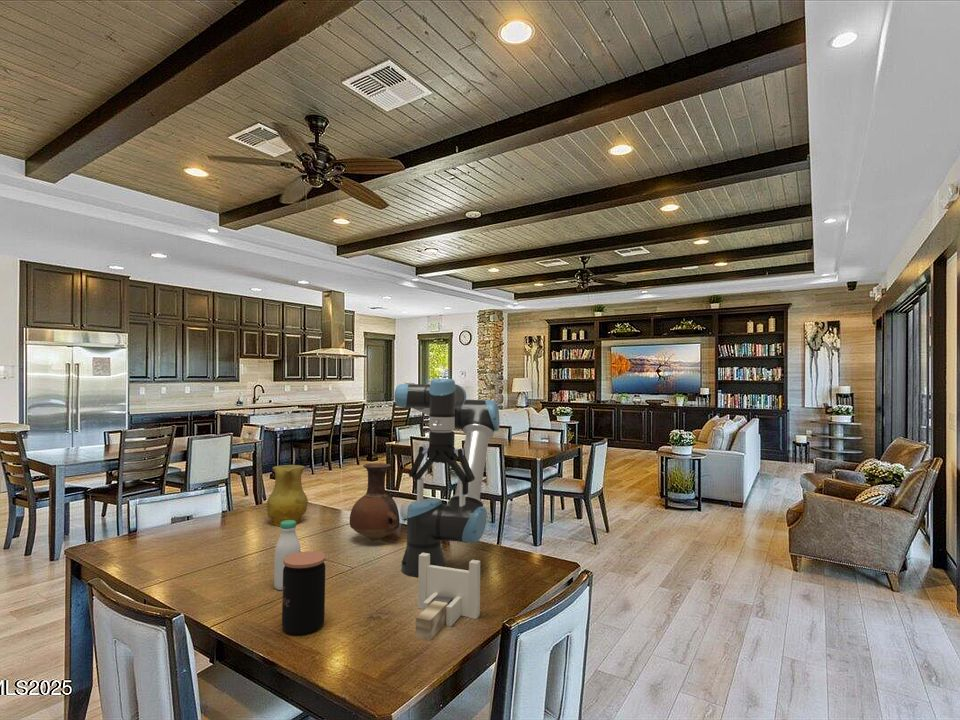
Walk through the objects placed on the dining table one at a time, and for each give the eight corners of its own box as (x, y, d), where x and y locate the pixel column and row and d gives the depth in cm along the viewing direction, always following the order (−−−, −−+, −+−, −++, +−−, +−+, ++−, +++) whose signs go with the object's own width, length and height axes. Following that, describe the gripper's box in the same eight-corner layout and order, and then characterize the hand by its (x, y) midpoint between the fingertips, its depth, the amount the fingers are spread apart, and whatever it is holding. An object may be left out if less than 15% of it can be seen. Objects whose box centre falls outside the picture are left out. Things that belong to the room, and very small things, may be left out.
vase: (414, 539, 215) (415, 464, 216) (378, 553, 199) (379, 471, 199) (370, 528, 229) (372, 458, 230) (334, 540, 213) (335, 464, 213)
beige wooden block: (430, 640, 134) (430, 619, 135) (415, 637, 136) (415, 616, 136) (452, 616, 148) (452, 597, 148) (438, 614, 149) (438, 595, 149)
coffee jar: (288, 617, 146) (289, 551, 146) (328, 616, 147) (329, 550, 147) (276, 637, 135) (278, 565, 136) (319, 635, 136) (321, 564, 137)
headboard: (407, 618, 146) (407, 562, 147) (421, 605, 155) (422, 552, 155) (467, 629, 140) (468, 571, 141) (479, 615, 149) (480, 560, 149)
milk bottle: (275, 592, 162) (276, 526, 163) (272, 583, 169) (273, 519, 169) (301, 588, 166) (303, 523, 166) (297, 579, 172) (299, 517, 173)
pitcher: (256, 526, 230) (261, 467, 232) (279, 516, 248) (284, 462, 250) (293, 529, 227) (298, 470, 229) (314, 520, 245) (318, 465, 247)
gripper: (398, 430, 159) (397, 502, 158) (477, 434, 150) (476, 510, 150) (410, 427, 166) (409, 496, 165) (485, 431, 157) (485, 504, 157)
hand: (440, 503), depth 158 cm, fingers open, 13 cm apart
